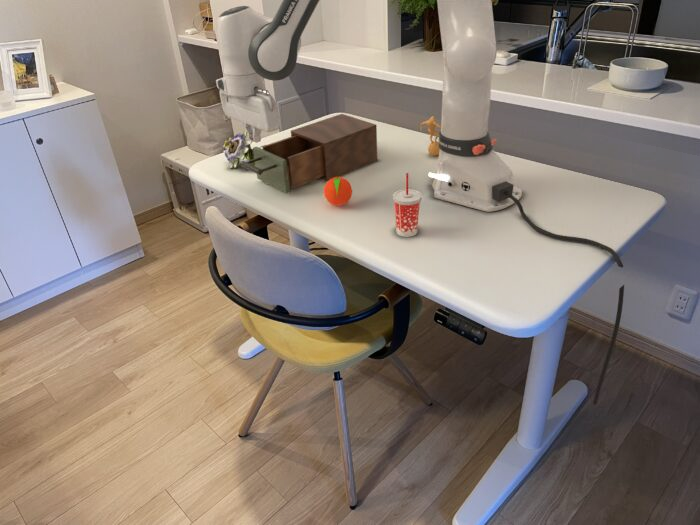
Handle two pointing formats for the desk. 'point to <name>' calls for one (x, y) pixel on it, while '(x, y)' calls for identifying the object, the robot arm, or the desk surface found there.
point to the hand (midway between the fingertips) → (255, 140)
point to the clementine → (338, 191)
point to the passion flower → (238, 149)
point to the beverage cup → (407, 210)
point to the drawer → (288, 163)
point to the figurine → (431, 125)
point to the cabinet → (342, 143)
